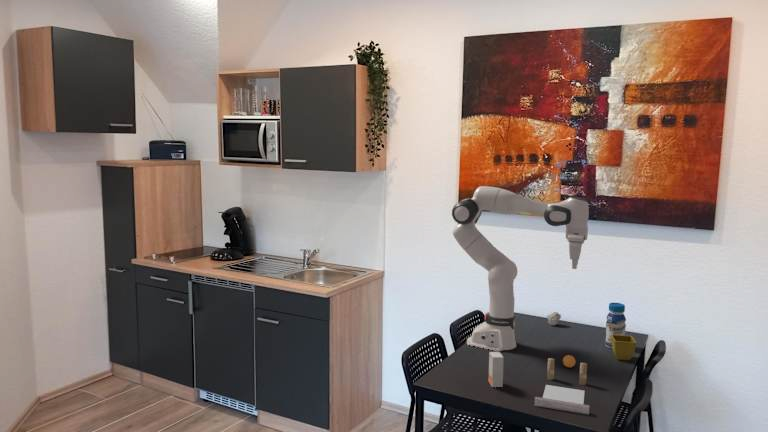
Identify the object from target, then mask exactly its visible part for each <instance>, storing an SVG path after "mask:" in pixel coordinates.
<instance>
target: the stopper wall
mask: <svg viewBox="0 0 768 432" xmlns="http://www.w3.org/2000/svg"><path fill="white" fill-rule="evenodd" d="M533 406H534V407H539V408H540V407H541V408H547V409H552V410H557V411H563V412H564V411H565V412H570V413H576V414H582V415H590V404H585V403H584V404H578V403H572V402H565V401H559V400H553V399H547V398H543V397H542V396H541V397H540V396H534V405H533Z"/></svg>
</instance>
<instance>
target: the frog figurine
mask: <svg viewBox="0 0 768 432" xmlns="http://www.w3.org/2000/svg"><path fill="white" fill-rule="evenodd" d="M561 317H562V315H561V314H560V313H559V312H558V311H553V312H552V313H549V314H548V315H546V318H547V322H548V324H549V325H550V326H556V325H558V322H559V321H560V319H561Z"/></svg>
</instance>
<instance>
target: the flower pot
mask: <svg viewBox="0 0 768 432" xmlns="http://www.w3.org/2000/svg"><path fill="white" fill-rule="evenodd" d="M611 340H612V348H611V349H612V352H613V355H614V356H615V358H616V360H618V361H619V360H620V361H630V360H631V359H632V358H633V356H634V354H635V352H636V347H637V341H636V340H635V338H634V337H633V336H632V335H625V336H623V335H611Z"/></svg>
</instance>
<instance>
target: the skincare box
mask: <svg viewBox="0 0 768 432" xmlns="http://www.w3.org/2000/svg"><path fill="white" fill-rule="evenodd" d="M488 353H489V355H488V356H489V357H488V383H489V384H490V387H491V388H492V387H495V388H494V389H496V387H502V388H503V386H504V384H503V383H504V382H503V381H504V356H503V354H502V353H501V351H489V352H488Z"/></svg>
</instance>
